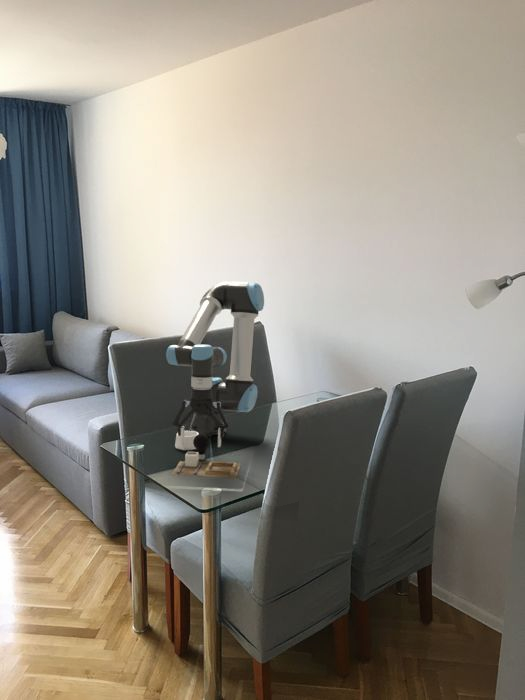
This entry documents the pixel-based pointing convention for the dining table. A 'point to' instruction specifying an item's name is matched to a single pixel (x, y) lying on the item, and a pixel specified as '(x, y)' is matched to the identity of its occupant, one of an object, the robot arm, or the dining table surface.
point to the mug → (186, 440)
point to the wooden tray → (208, 469)
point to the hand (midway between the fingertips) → (200, 445)
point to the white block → (192, 459)
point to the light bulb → (201, 444)
